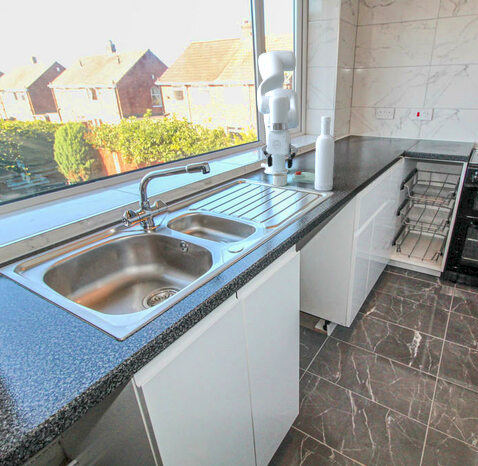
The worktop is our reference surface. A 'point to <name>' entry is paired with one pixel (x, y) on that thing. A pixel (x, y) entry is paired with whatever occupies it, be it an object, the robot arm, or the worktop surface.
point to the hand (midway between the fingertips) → (279, 167)
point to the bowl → (280, 179)
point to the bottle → (324, 157)
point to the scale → (304, 177)
